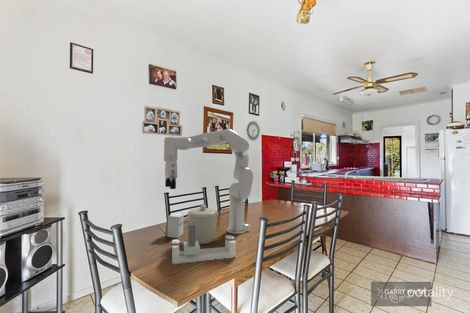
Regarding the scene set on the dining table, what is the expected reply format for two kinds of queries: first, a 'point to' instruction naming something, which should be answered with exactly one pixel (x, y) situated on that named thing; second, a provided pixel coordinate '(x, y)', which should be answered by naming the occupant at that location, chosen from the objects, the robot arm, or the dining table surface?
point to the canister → (203, 223)
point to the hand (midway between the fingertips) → (170, 187)
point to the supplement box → (175, 225)
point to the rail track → (203, 256)
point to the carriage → (191, 241)
